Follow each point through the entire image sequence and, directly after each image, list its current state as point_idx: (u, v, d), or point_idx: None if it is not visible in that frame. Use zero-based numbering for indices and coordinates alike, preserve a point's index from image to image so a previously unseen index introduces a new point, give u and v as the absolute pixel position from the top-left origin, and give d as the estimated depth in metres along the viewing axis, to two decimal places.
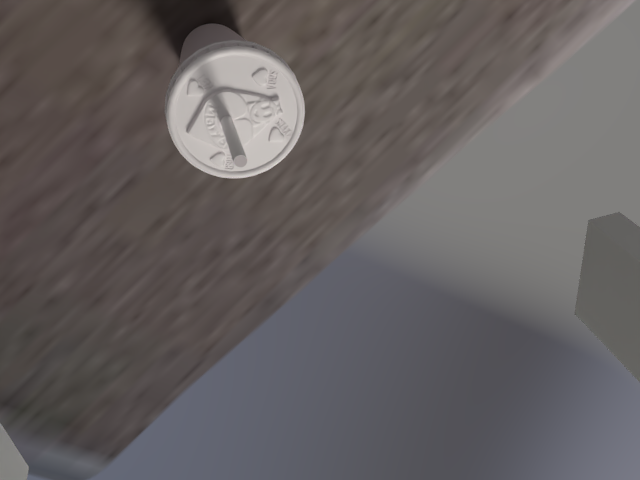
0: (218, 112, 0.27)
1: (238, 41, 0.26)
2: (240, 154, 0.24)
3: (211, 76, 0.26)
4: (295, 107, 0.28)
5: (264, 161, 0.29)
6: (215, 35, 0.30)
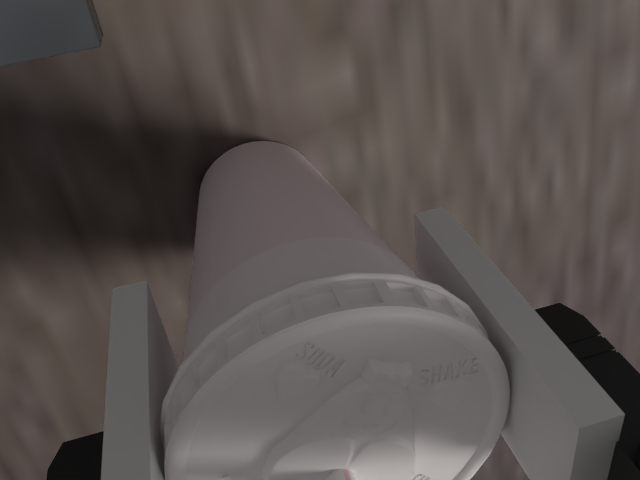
0: None
1: (188, 362, 0.10)
2: None
3: (223, 468, 0.10)
4: (426, 333, 0.10)
5: (479, 429, 0.11)
6: (195, 266, 0.14)
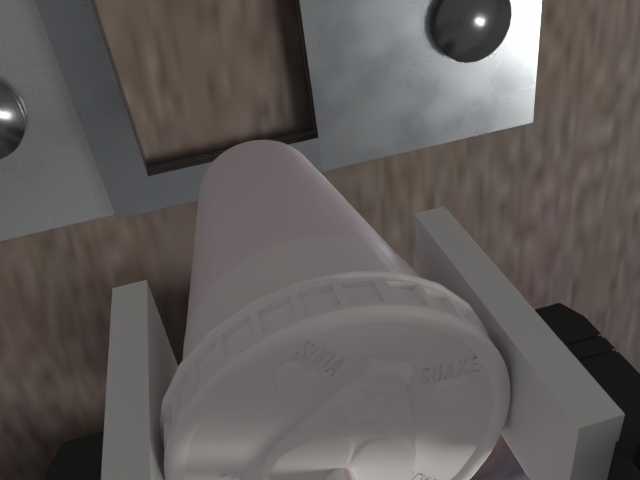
0: None
1: (188, 361, 0.10)
2: None
3: (223, 467, 0.10)
4: (425, 332, 0.10)
5: (480, 428, 0.11)
6: (195, 265, 0.14)
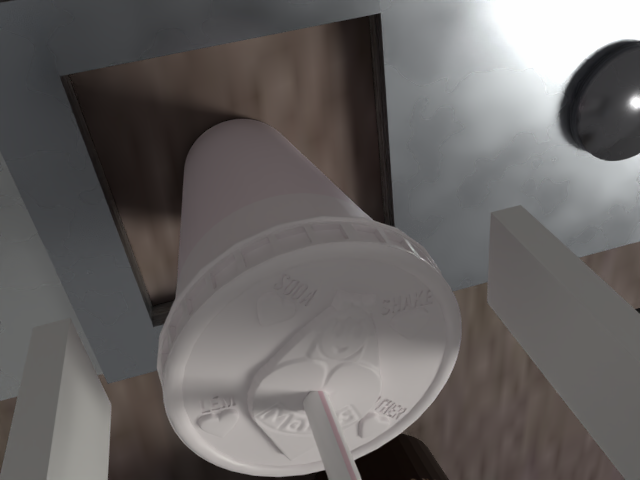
0: (288, 408, 0.12)
1: (181, 297, 0.11)
2: None
3: (214, 390, 0.12)
4: (385, 267, 0.11)
5: (437, 357, 0.13)
6: (183, 227, 0.15)
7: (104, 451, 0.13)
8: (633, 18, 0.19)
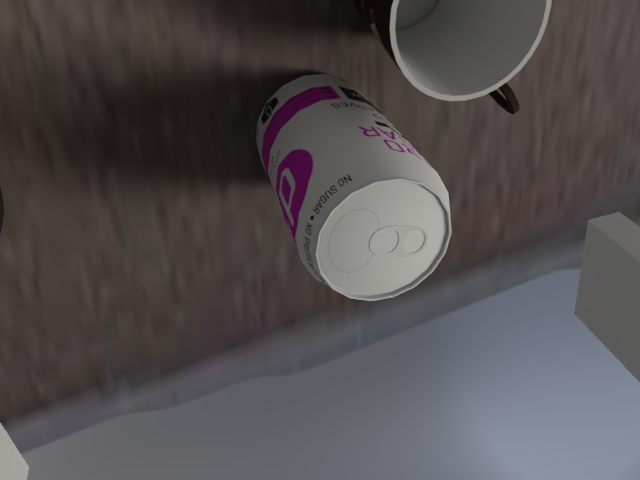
0: None
1: None
2: None
3: None
4: None
5: None
6: None
7: None
8: None
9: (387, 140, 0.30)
